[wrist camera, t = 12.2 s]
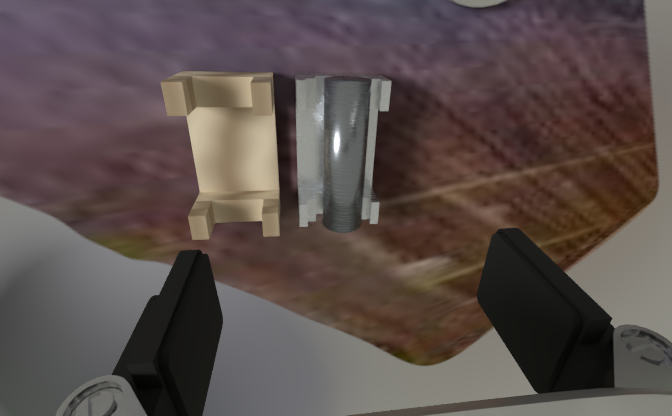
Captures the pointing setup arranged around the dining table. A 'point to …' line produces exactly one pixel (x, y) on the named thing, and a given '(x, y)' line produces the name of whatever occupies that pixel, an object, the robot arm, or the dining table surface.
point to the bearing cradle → (230, 146)
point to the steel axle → (345, 150)
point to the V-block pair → (312, 138)
